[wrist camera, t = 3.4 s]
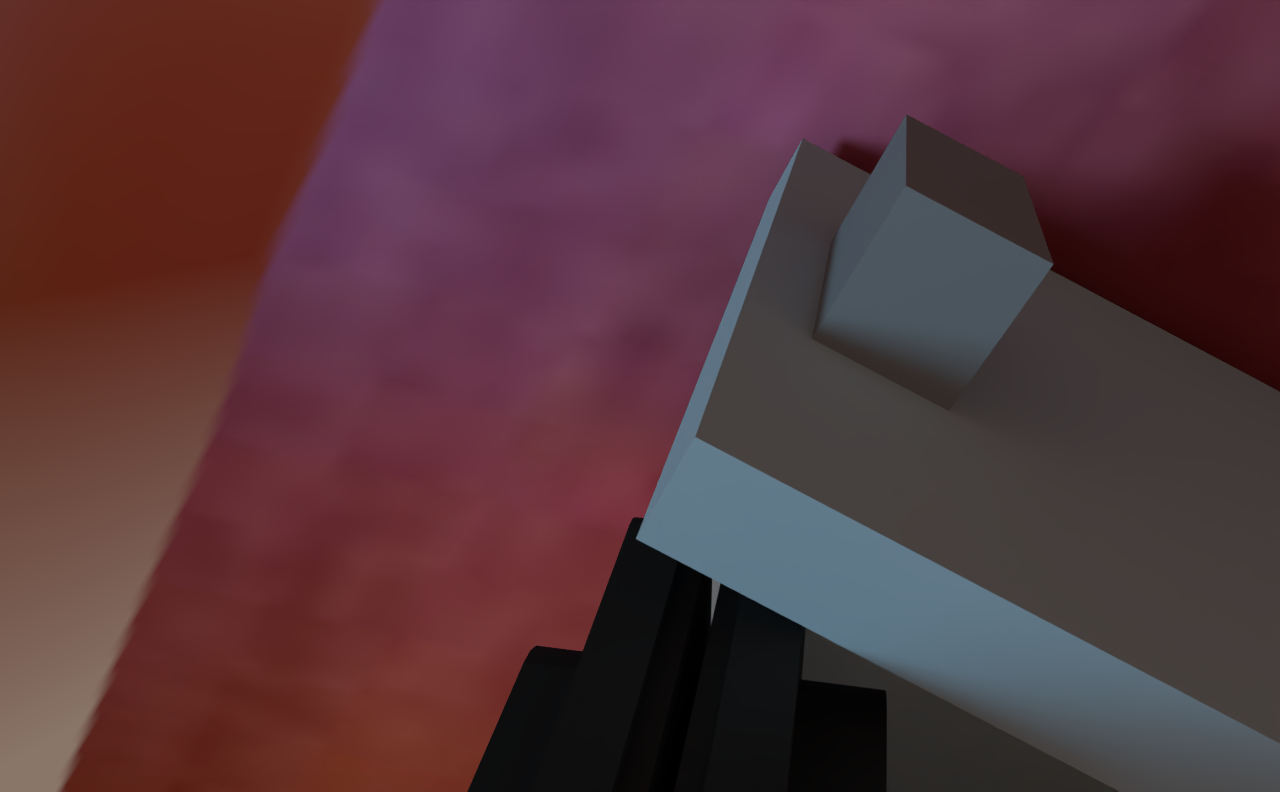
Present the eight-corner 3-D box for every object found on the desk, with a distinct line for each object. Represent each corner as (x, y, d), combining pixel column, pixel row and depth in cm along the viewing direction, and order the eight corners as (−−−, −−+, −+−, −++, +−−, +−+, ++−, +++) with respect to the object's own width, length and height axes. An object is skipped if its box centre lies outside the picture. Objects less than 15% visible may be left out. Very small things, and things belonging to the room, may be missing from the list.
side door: (1578, 415, 15) (2312, 1039, 7) (1428, 556, 16) (1909, 1215, 9) (860, 32, 15) (805, 244, 7) (765, 206, 16) (630, 549, 8)
